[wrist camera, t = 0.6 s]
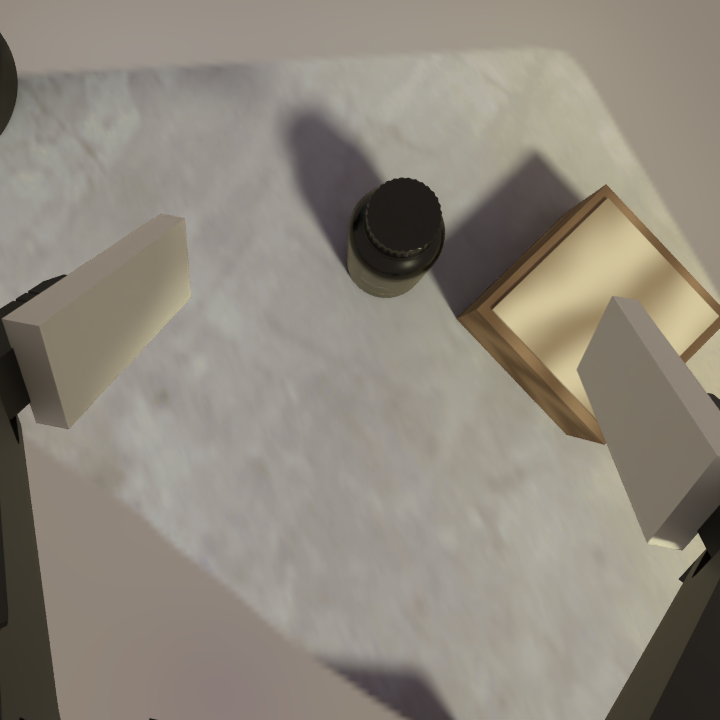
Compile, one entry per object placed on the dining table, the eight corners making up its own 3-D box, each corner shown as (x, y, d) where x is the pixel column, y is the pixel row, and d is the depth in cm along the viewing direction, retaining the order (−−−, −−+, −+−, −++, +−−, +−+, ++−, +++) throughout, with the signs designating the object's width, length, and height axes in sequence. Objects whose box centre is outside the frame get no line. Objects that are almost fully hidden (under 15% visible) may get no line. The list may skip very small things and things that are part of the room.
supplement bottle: (438, 272, 42) (479, 232, 30) (373, 314, 42) (387, 290, 30) (396, 206, 42) (420, 140, 30) (330, 247, 42) (328, 196, 30)
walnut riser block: (456, 318, 42) (477, 309, 36) (568, 210, 43) (607, 183, 37) (566, 434, 43) (606, 445, 36) (676, 324, 43) (733, 316, 37)
